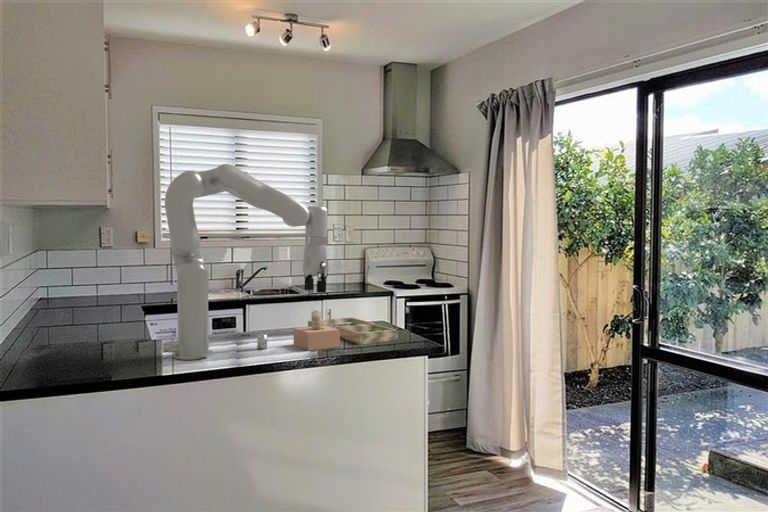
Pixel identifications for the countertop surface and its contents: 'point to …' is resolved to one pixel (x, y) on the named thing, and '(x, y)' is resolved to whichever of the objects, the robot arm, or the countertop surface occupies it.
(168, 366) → the countertop surface
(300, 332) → the hole block
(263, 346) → the short pin
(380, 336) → the organiser frame
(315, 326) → the long pin
